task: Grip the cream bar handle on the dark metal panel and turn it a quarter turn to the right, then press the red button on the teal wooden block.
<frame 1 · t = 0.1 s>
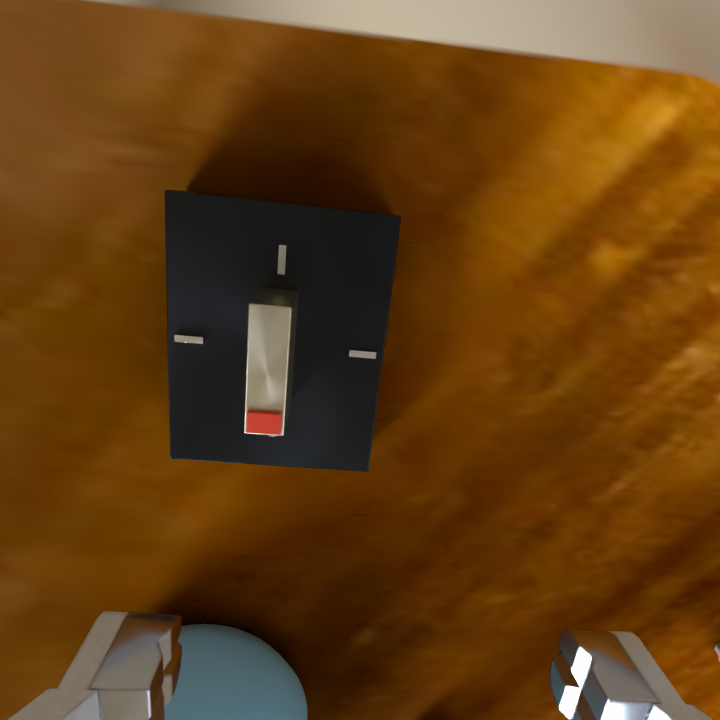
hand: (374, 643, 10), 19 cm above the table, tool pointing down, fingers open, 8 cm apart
sugar bowl: (208, 684, 36), on the table
turn handle: (272, 359, 22), point 5 cm above the table, hinge at 0.0°
rod panel: (283, 330, 27), on the table
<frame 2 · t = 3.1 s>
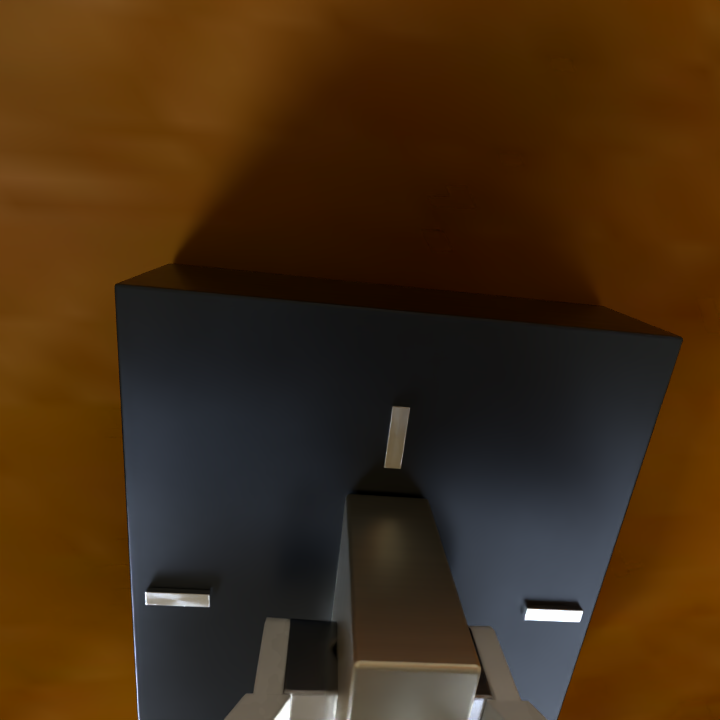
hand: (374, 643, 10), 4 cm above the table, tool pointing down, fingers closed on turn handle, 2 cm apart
turn handle: (380, 693, 9), point 5 cm above the table, hinge at 0.0°, touching gripper
rod panel: (363, 521, 14), on the table
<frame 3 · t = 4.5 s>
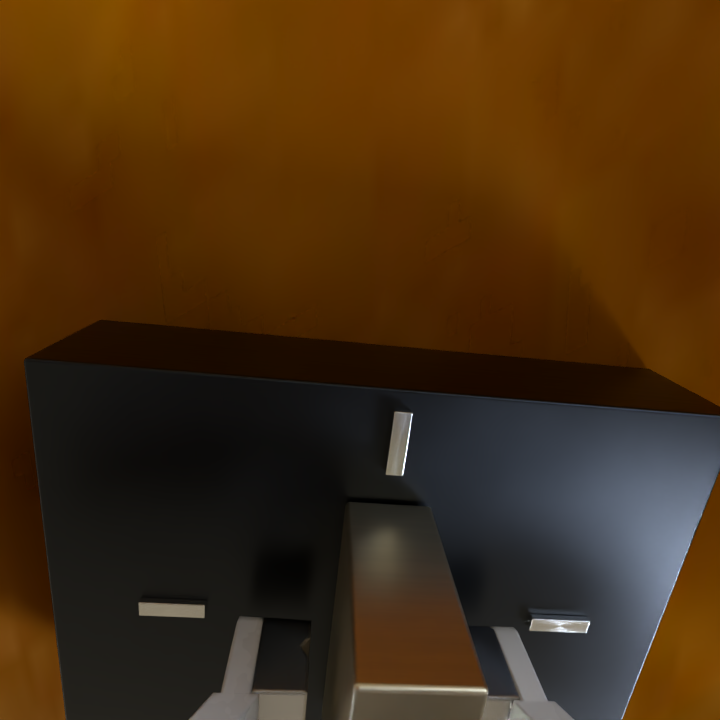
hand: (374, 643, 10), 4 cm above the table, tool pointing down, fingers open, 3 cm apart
turn handle: (381, 709, 9), point 5 cm above the table, hinge at -89.9°
rod panel: (364, 527, 14), on the table
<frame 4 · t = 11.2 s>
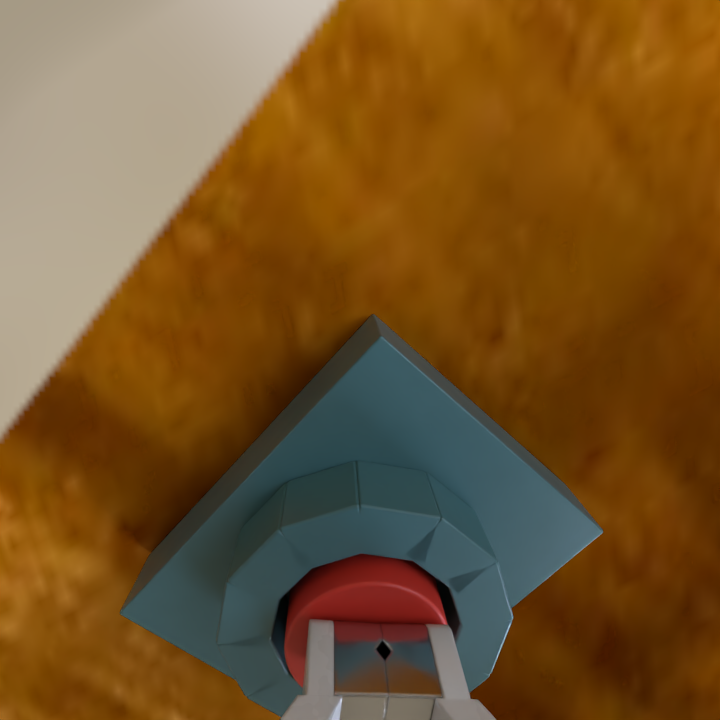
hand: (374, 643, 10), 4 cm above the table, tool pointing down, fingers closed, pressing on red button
red button: (365, 617, 11), point 4 cm above the table, slide at -0.8 cm, touching gripper
button block: (357, 519, 14), on the table
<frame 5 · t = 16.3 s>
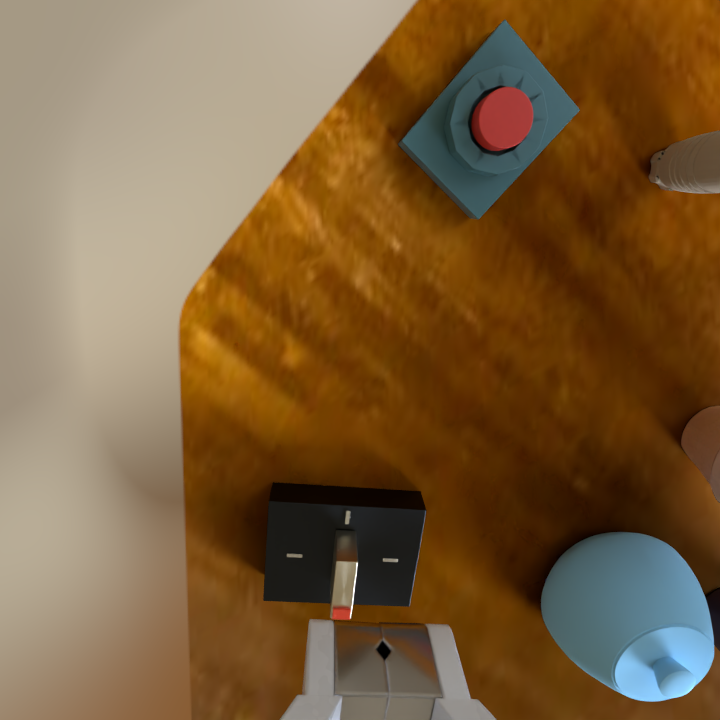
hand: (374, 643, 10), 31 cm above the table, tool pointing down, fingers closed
sugar bowl: (602, 579, 50), on the table
turn handle: (343, 574, 42), point 5 cm above the table, hinge at -89.9°
rod panel: (342, 535, 47), on the table
red button: (501, 120, 31), point 4 cm above the table, slide at 0.1 cm
button block: (481, 129, 36), on the table
handle: (663, 167, 37), on the table
potted plant: (712, 430, 45), on the table
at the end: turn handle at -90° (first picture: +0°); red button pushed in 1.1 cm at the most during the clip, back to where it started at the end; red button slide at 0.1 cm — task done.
